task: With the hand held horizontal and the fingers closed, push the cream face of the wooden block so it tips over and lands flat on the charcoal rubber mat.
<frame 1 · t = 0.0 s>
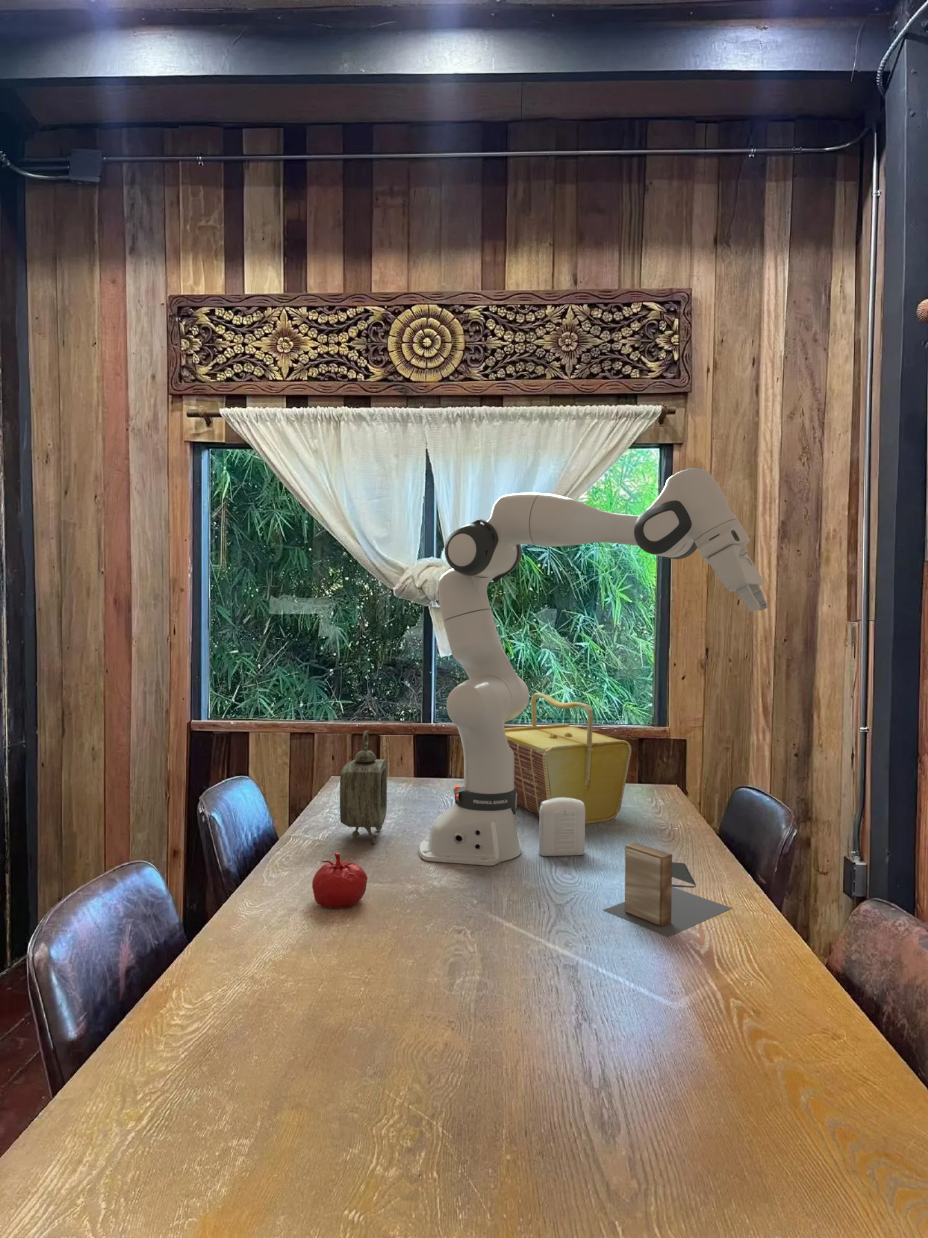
hand: (760, 609, 144), 54 cm above the table, tool tilted 30°, fingers open, 8 cm apart
mat: (667, 912, 140), on the table
photo printer: (561, 854, 172), on the table
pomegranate: (339, 903, 144), on the table
wooden block: (646, 918, 137), point 1 cm above the table, touching mat
smartphone: (672, 879, 158), on the table
tabletop clock: (363, 838, 182), on the table
picnic basket: (559, 812, 205), on the table
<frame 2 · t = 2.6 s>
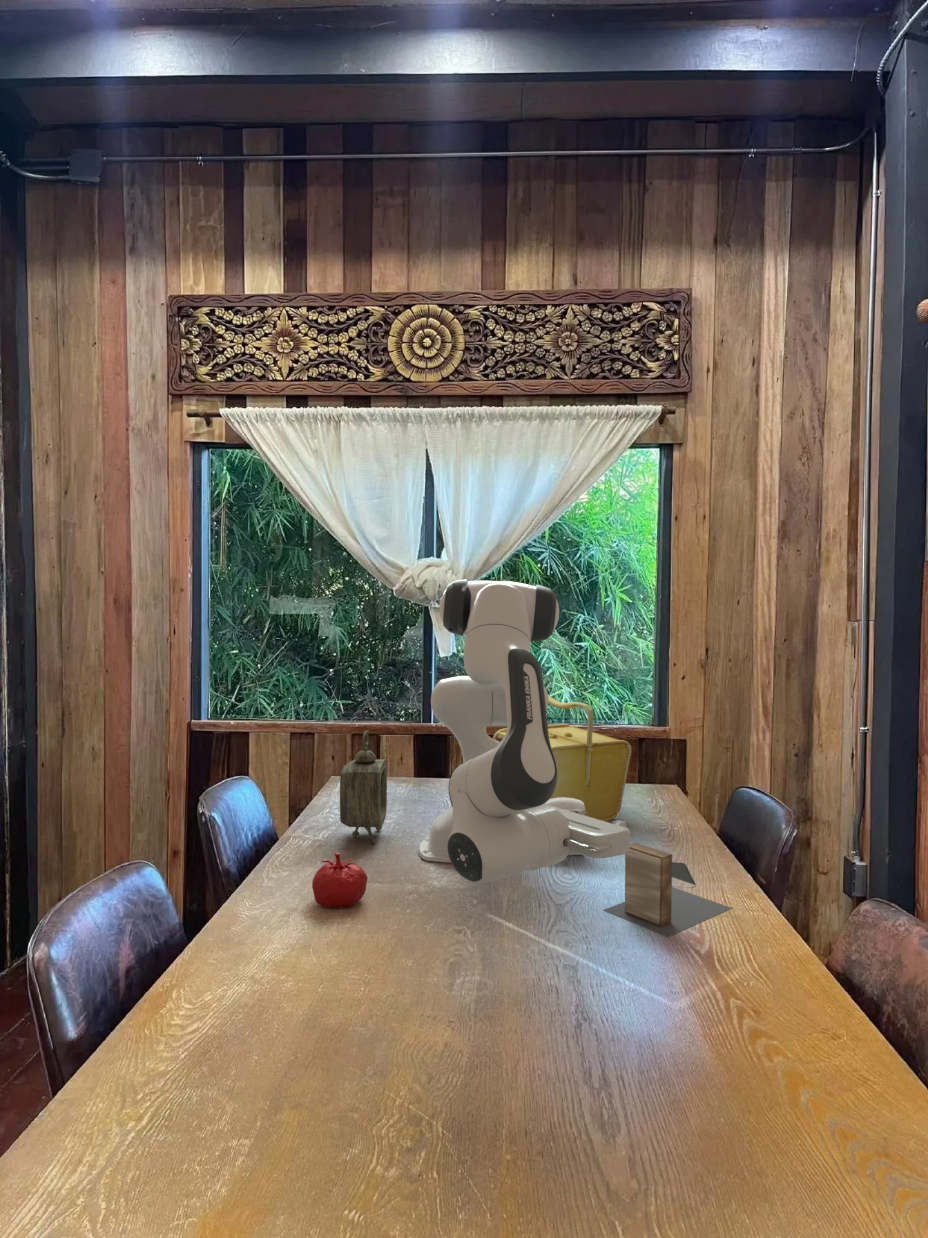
hand: (602, 820, 128), 20 cm above the table, tool horizontal, fingers open, 7 cm apart
nothing on the table moved.
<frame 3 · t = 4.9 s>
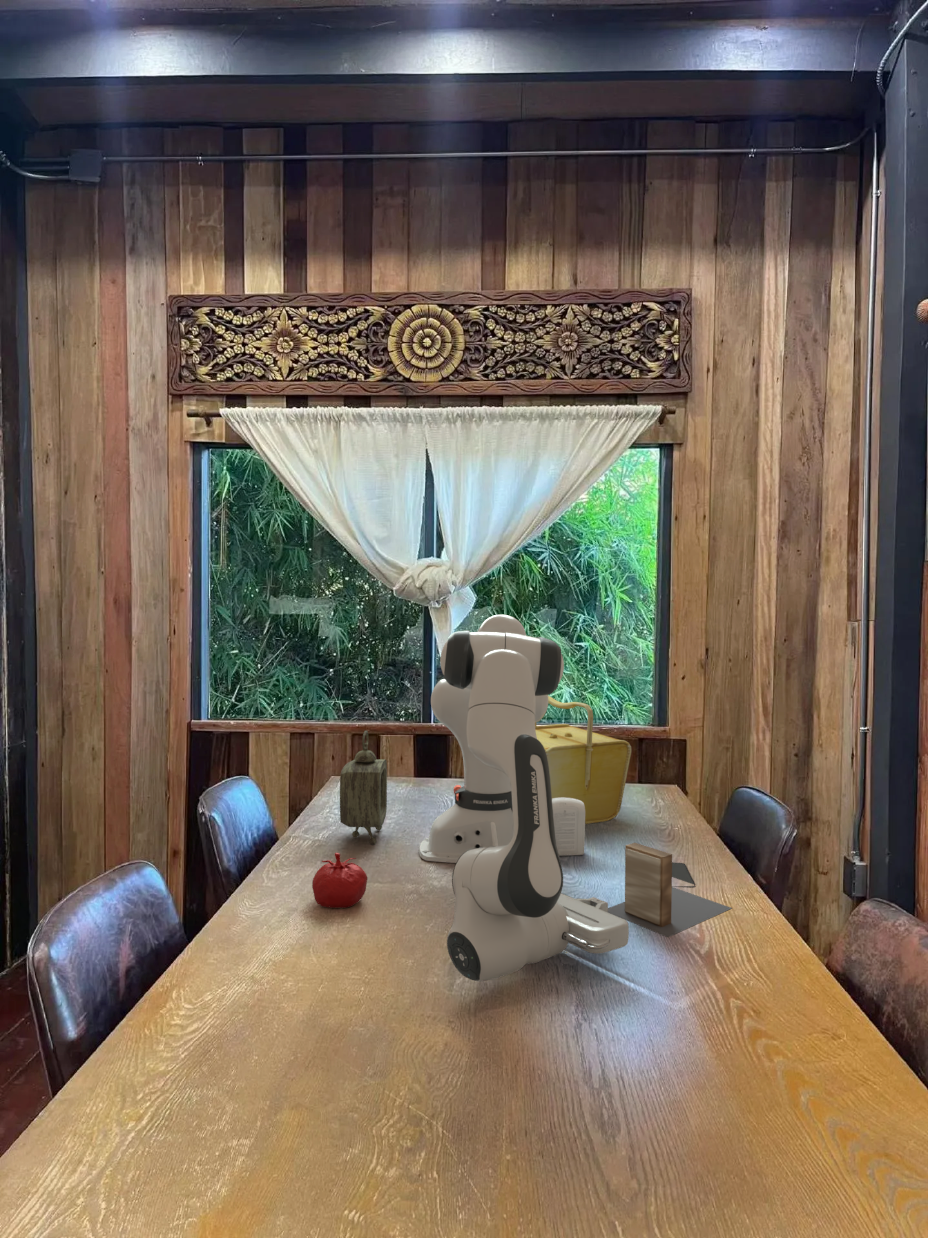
hand: (601, 904, 129), 6 cm above the table, tool horizontal, fingers closed
nothing on the table moved.
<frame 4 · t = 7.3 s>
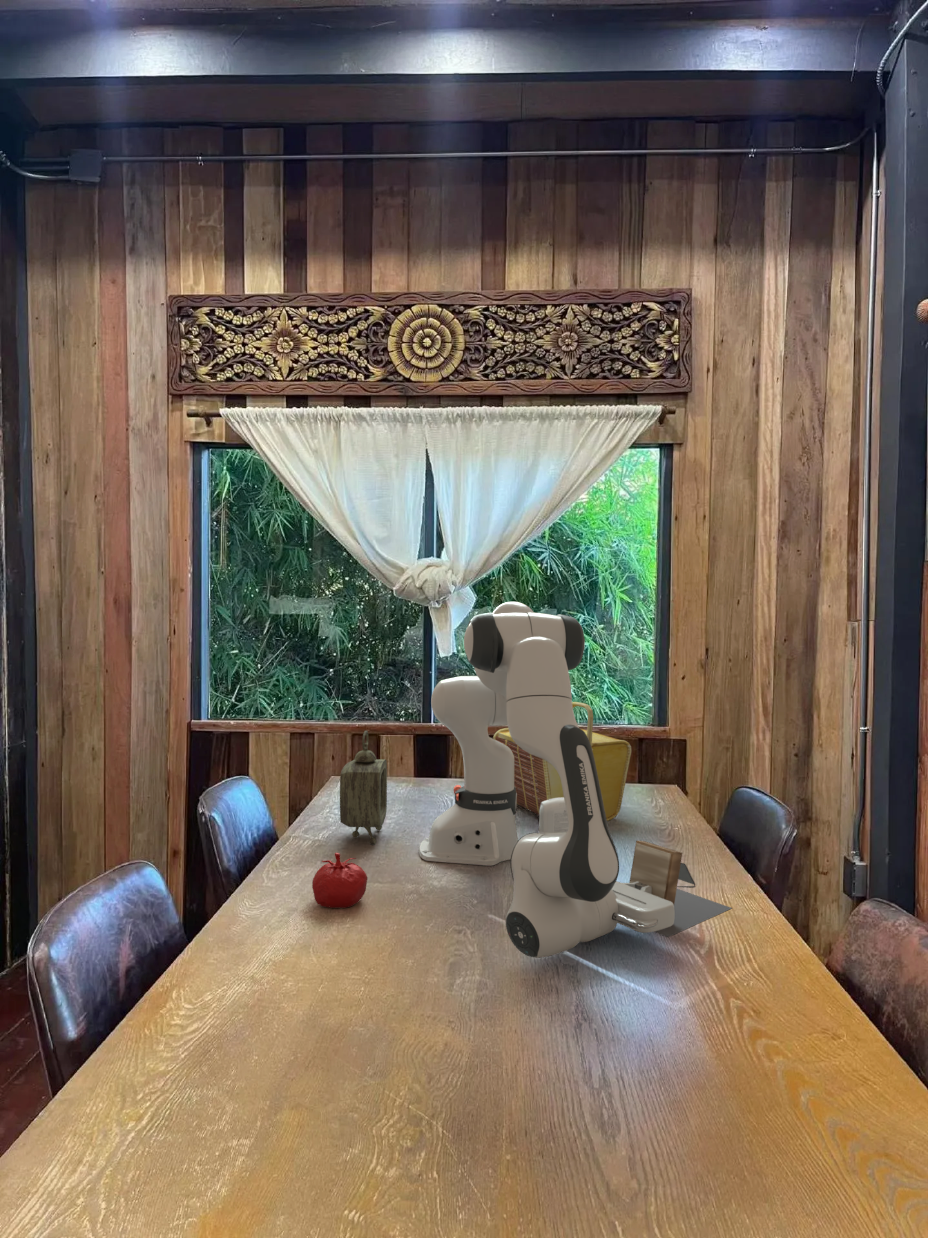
hand: (645, 888, 136), 6 cm above the table, tool horizontal, fingers closed
wooden block: (647, 915, 137), point 1 cm above the table, tilted 14°, touching mat
everything else where it was.
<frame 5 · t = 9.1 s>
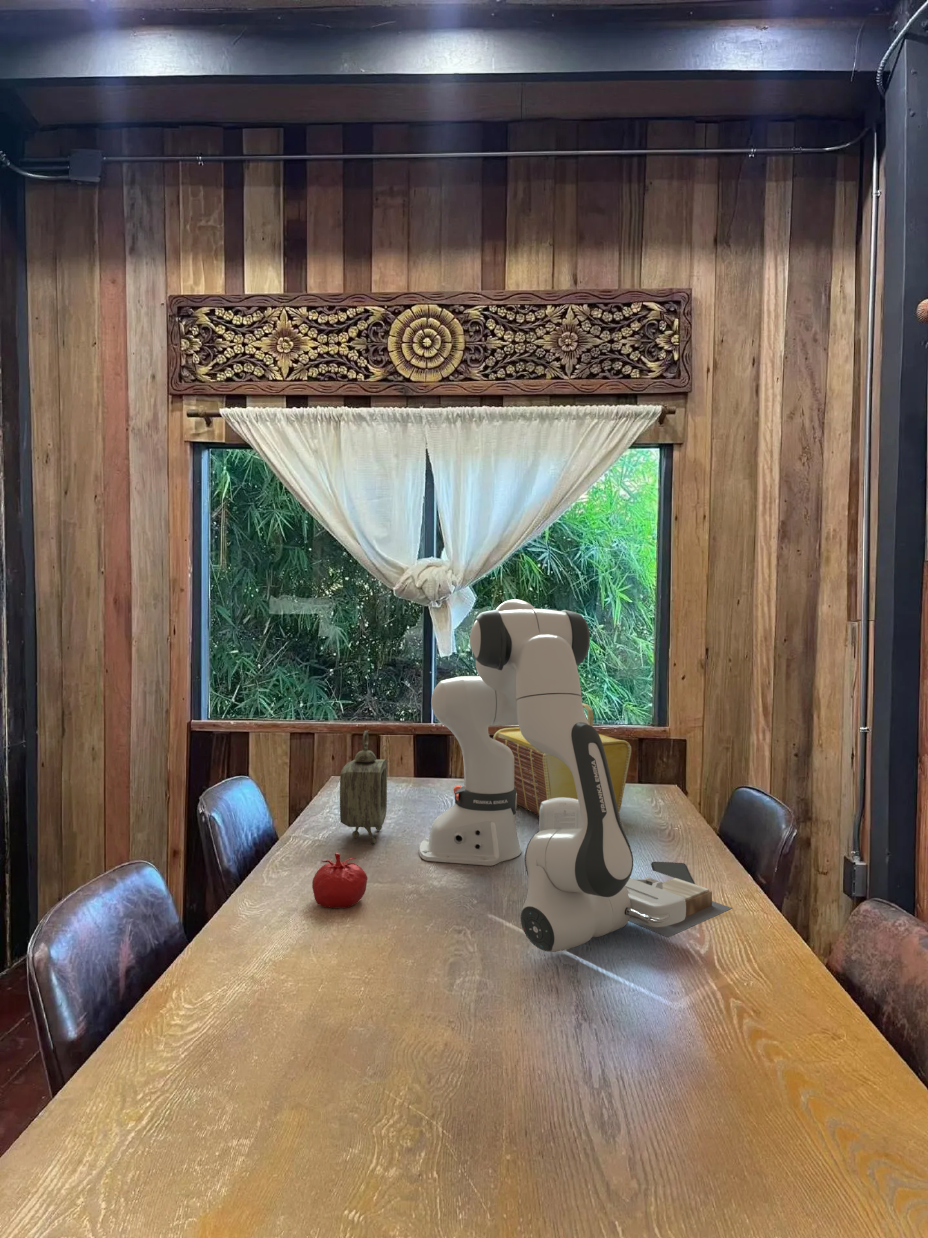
hand: (655, 884, 138), 6 cm above the table, tool horizontal, fingers closed
wooden block: (652, 907, 138), point 2 cm above the table, tilted 90°, touching mat
everything else where it was.
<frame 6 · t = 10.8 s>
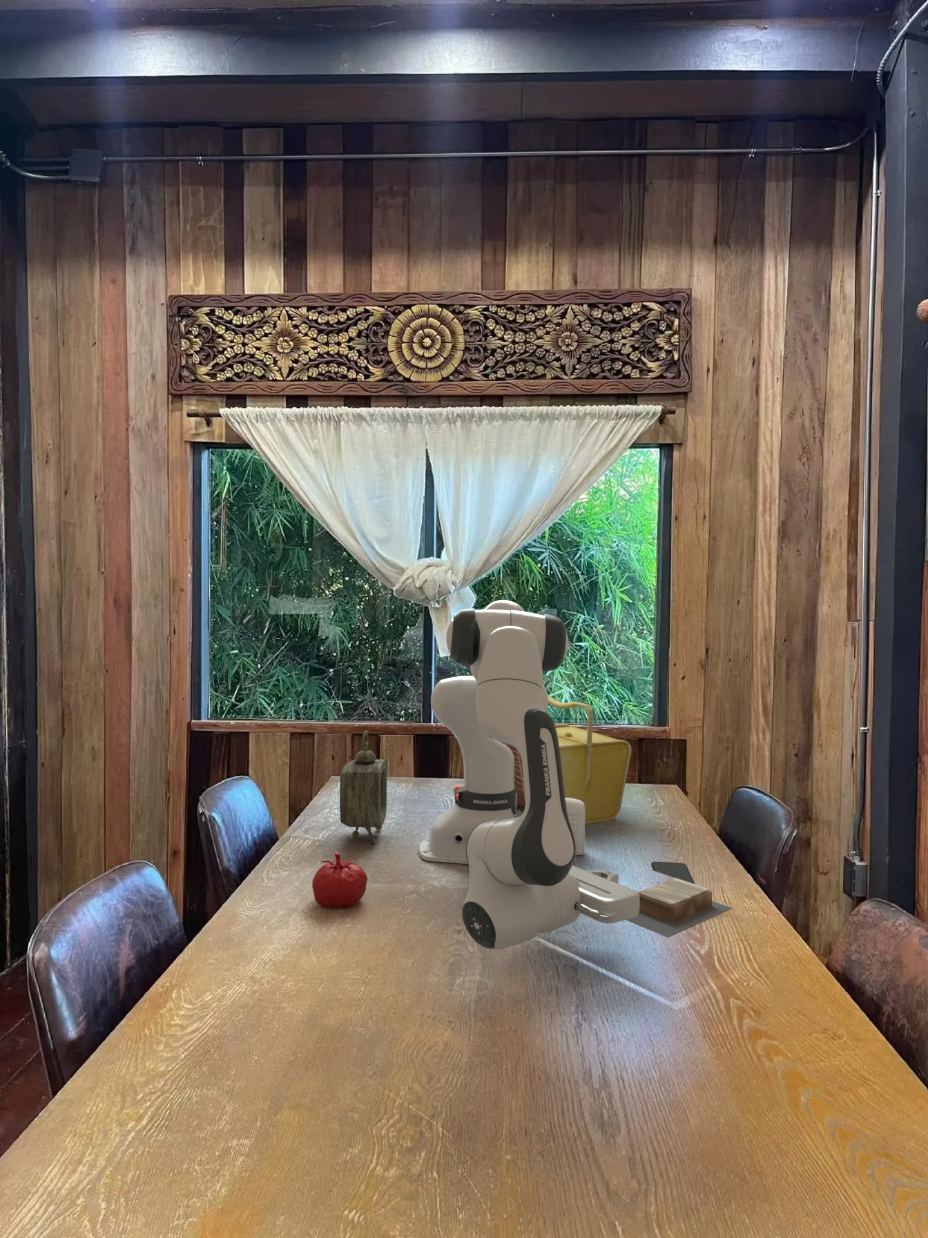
hand: (611, 876, 131), 10 cm above the table, tool horizontal, fingers closed
nothing on the table moved.
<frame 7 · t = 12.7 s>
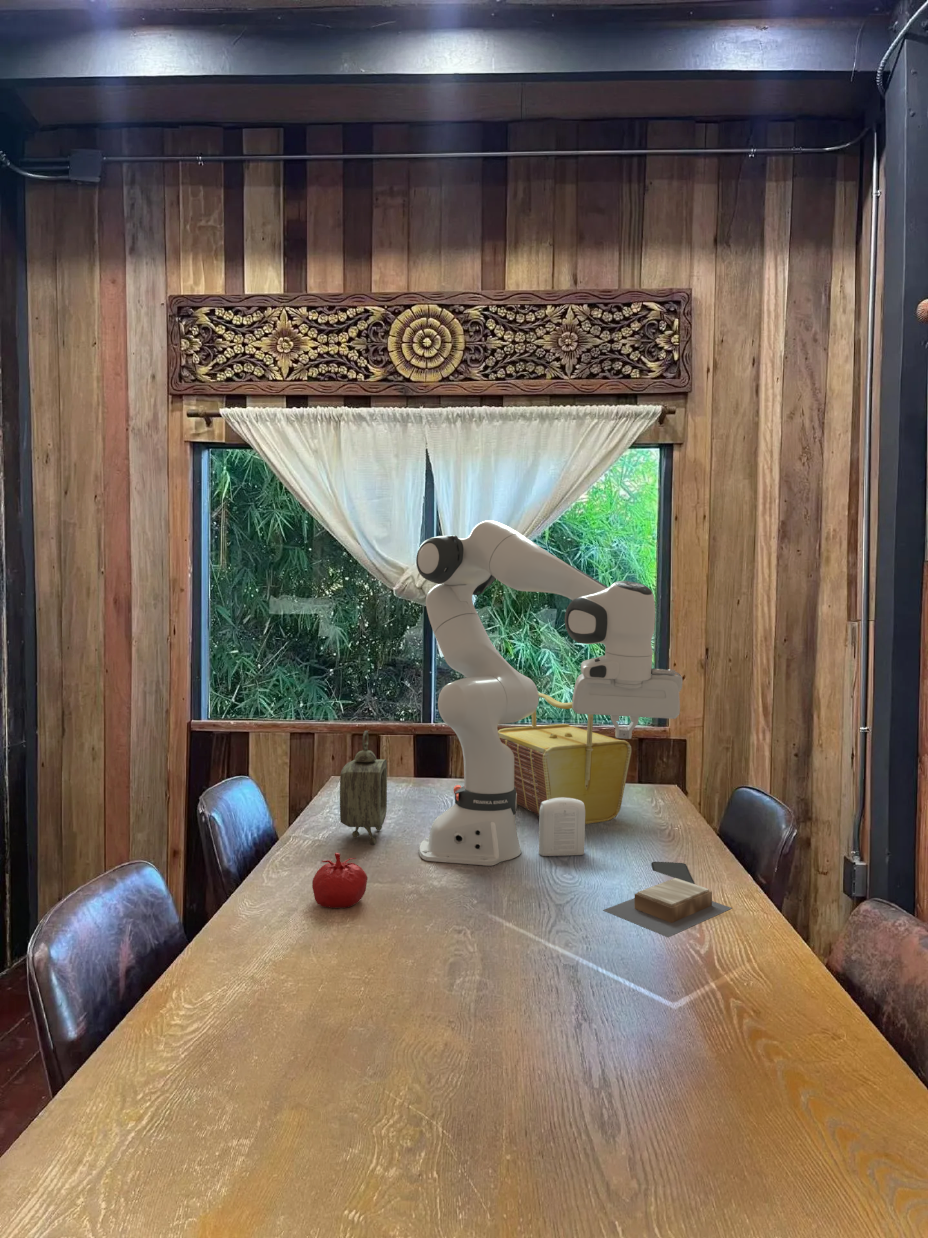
hand: (623, 737, 151), 29 cm above the table, tool pointing down, fingers closed
nothing on the table moved.
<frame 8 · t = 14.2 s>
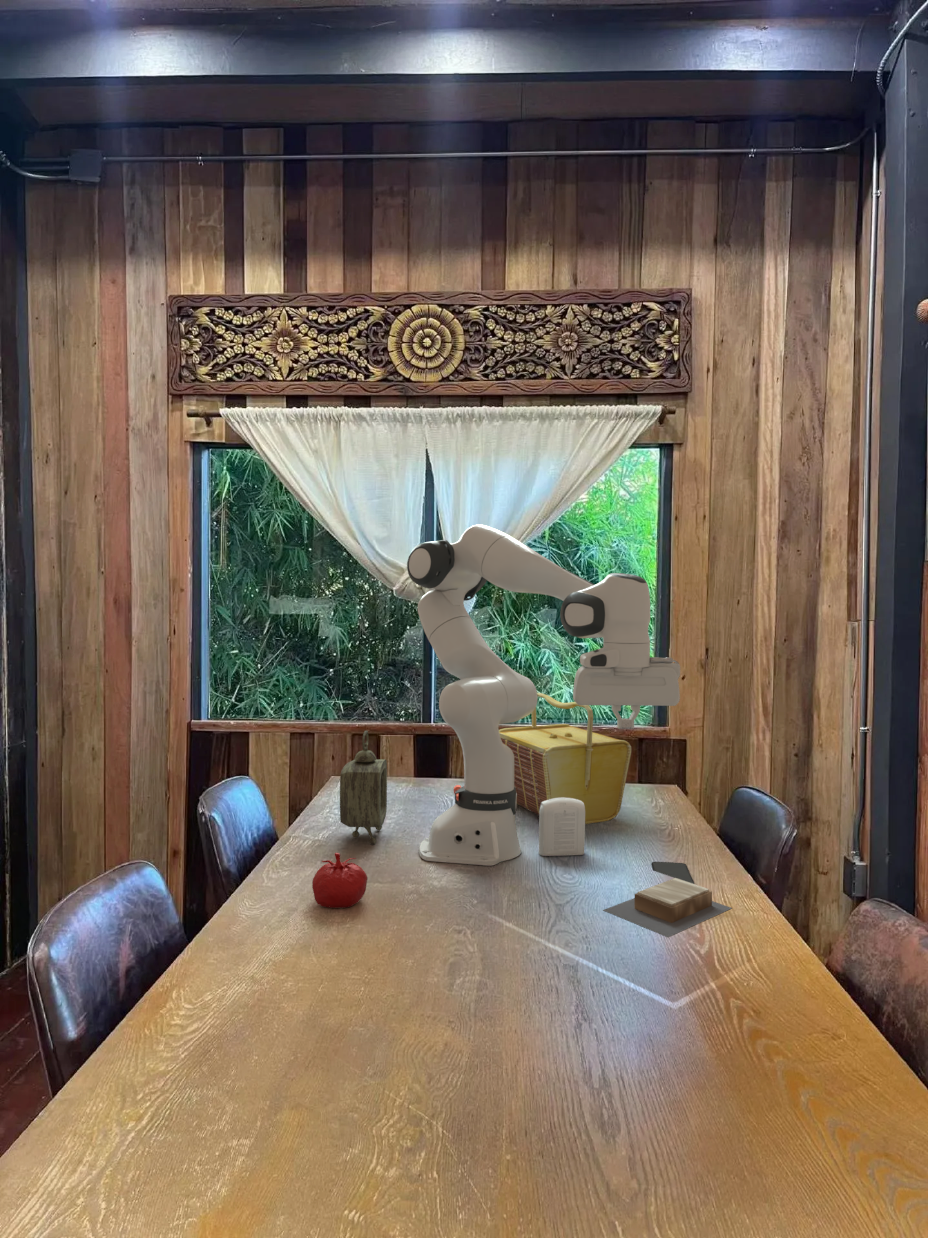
hand: (625, 728, 152), 31 cm above the table, tool pointing down, fingers closed
nothing on the table moved.
at the end: wooden block tilted 90°; wooden block 4.4 cm from the mat (horizontally); wooden block point 2.1 cm above the table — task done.
